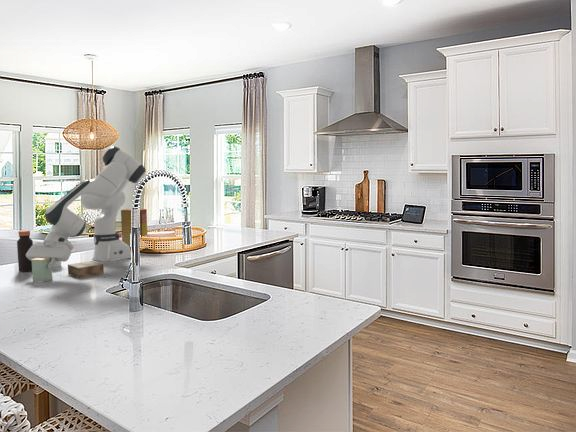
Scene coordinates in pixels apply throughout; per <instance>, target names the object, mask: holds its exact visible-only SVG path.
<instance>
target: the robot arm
mask: <svg viewBox="0 0 576 432" xmlns="http://www.w3.org/2000/svg"><path fill="white" fill-rule="evenodd" d="M102 162H103V163H104V166H105V167H104V168H102V170H101V171H99V173H98V174H97V175H96V176H95V177H94V178H92V179H84V180H83V181H80V182H79V183H78V184H77V185H75V186H74V187H73V188H72V189H71V190H69V191H68V192H66V193H65V194H64V195H63V196H62V197H61V198H59V199H58V200H57V201H55V202H54V203H53V204H51V205H50V206H49V207H47V209H46V210H45V212H44V218H45V220H46V222H47V223H48V224H50V225H51V229H50V231H49V232H48V233H47V235H46V236H45V238H44V240H43V242H42V241H36V242H35V243H34V244H33V245H32V246H31V248H30V249H29V250H28V252H27V253H26V257H27V258H28V259H29V260H31V259H35V258H51V262H50V263H49V264H47V265H46V268H47V269H50V268H51V267H52V266H53V265H54V264H55V263H56V262H57V261H61V262H67V261H68V260H69V258H70V256H71V254H72V250H73V249H74V245H73V244H72V242H71V241H70V240H69V239H68V238H75V237H79V236H81V235H82V234H83V233H84V231H85V229H86V227H87V226H86V225H87V224H86V221H85V220H84V218H83V217H80V216H79V215H78V214H76V213H75V212H73V211H71V210H70V209H69V208H68V206H70V205H71V204H72V203H74V202H75V201H76V200H77V199H78V198H79V197H80V202H81V205H82V206H83V208H85V209H86V210H92V211H93V210H94V211H96V210H101V211H100V213H99V214H98V216H96V217H95V219H94V221H93V223H94V225H93V226H94V229H93V231H94V234H93V245H94V251H93V257H92V261H95V262H97V261H99V262H102V261H103V262H104V261H105V262H106V261H107V262H114V261H120V260H127V259H130V258H131V253H132V250H130V247H129V245H127V244H126V243H124V242H123V241H122V233H117V229H116V225H117V224H116V223H117V216H118V212H119V210H120V209H121V207H122V206H123V205H124V204H125V202H126V195H125V193H124V189H125V188H126V186H127V185H128V183H129V182H130V183H133V184H136V183H138V182H141V181H142V180H143V179H144V177H145V176H146V175H145V174H146V171H147V170H146V167H145V166H144V165H143V164H142V163H140V162H139V161H138V160H136V158H135V157H134V156H131V155H130V154H128V153H127V152H126V151H123V150H121V148H119V147H117V146H110V147H109V148H107V149H106V150H105V151H104V153H103V156H102ZM142 178H143V179H142ZM141 179H142V180H141ZM120 238H121V239H120Z"/></svg>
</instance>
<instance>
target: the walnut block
mask: <svg viewBox="0 0 576 432" xmlns="http://www.w3.org/2000/svg"><path fill="white" fill-rule="evenodd" d="M67 274H68V275H69V276H72V277H75V278H77V279H80V278H87V277H93V276H98V275H99V276H100V275H104V274H105V269H104V263H102V262H101V263H100V262H97V261H95V260H91V261H90V260H89V261H83V262H78V263H77V262H76V263H69V264H67Z"/></svg>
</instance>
